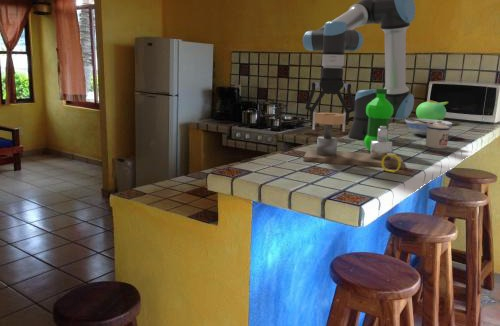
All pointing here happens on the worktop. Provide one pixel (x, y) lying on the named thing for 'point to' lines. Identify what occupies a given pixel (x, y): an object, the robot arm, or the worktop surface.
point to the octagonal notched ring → (329, 118)
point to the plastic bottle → (377, 116)
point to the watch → (391, 156)
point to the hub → (381, 145)
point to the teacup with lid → (437, 135)
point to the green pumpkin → (431, 110)
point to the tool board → (343, 154)
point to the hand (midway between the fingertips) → (328, 130)
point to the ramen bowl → (422, 125)
